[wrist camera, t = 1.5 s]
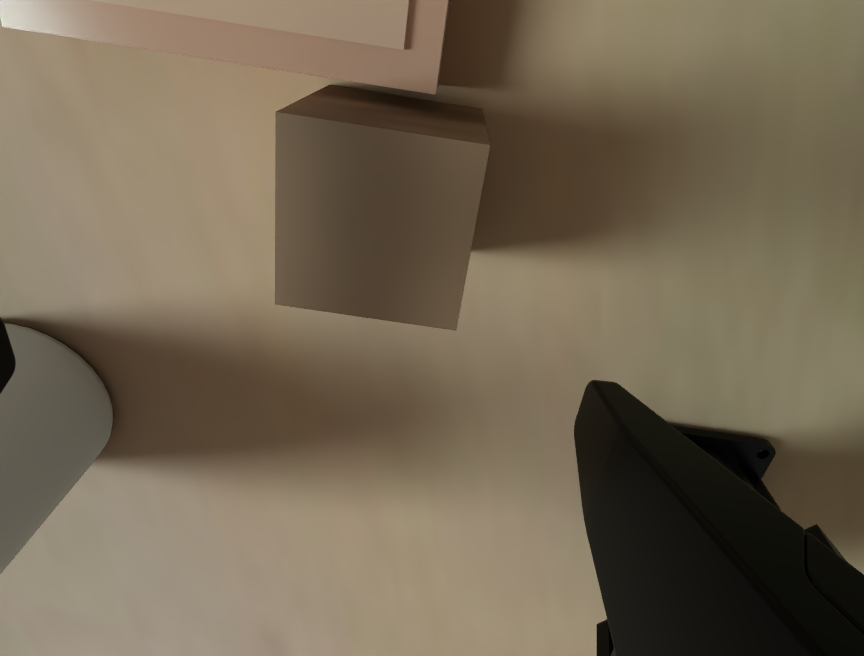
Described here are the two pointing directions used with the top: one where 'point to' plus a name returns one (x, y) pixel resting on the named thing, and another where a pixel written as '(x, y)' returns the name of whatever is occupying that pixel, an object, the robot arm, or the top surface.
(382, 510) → the top surface
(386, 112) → the walnut block
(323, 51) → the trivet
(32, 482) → the milk bottle
